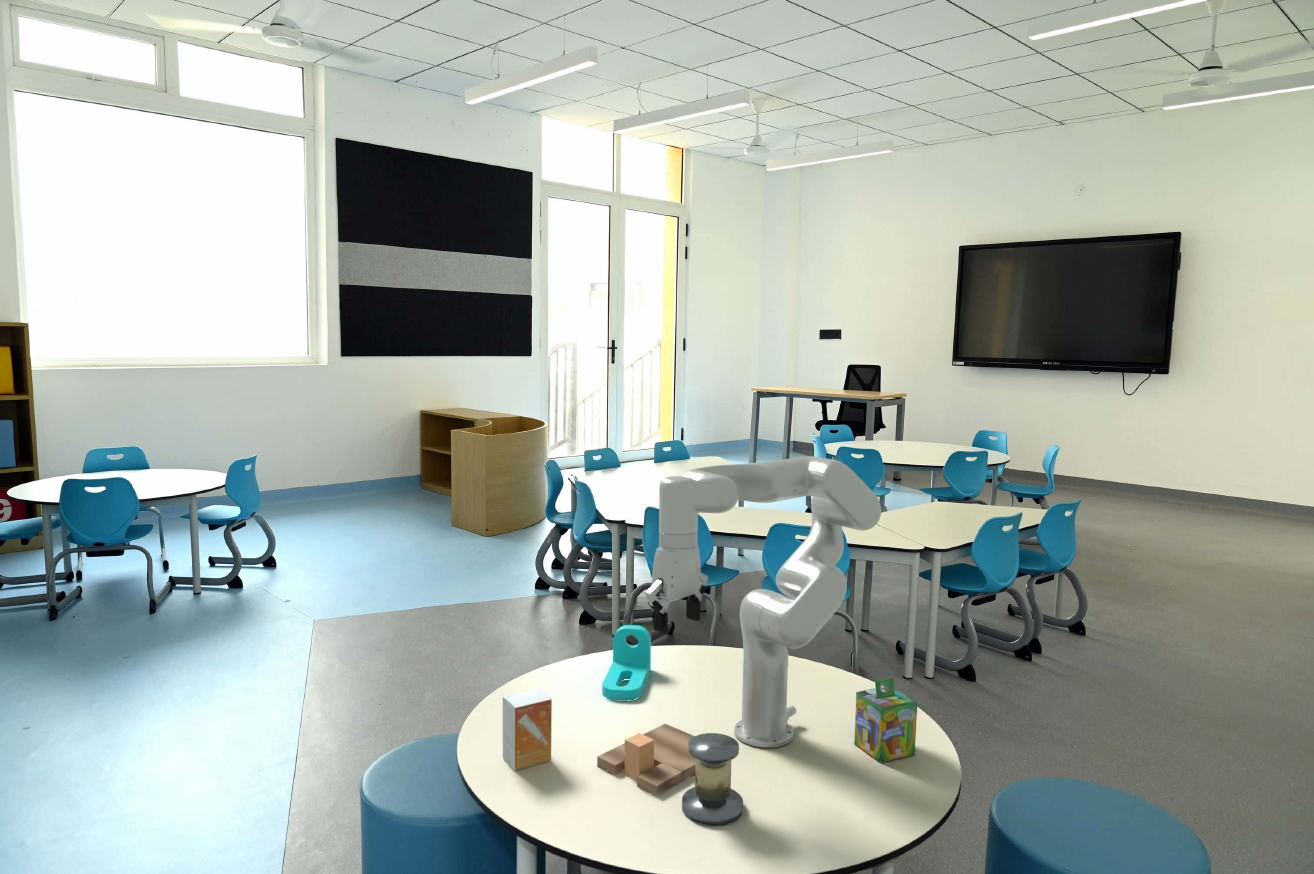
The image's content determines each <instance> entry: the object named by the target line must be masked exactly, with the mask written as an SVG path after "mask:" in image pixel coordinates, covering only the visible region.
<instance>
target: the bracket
mask: <svg viewBox="0 0 1314 874" xmlns="http://www.w3.org/2000/svg"><path fill="white" fill-rule="evenodd" d="M629 636H633V637H635V638H636V639H637V642H638V643H637V644H635V645H631V644H629V643H628V641H627V637H629ZM651 649H652V636H651V633H650V632H649V630H648V629H647V628H645V627H644V626H642V625H635V624H633V625H630V624H627V625H626V624H625V625H622V626H620V627H619V628H618V629H617V630H616V631H615V634H614V635H613V638H612V663H611V665H610V666H609V669H608V671H607V673H606V675H605V677H604V679H603V680H602V683H601V688H602V689H601V695H603V696H604V697H606V698H607V699H606V698H605V699H606V700H608V699H610V700H609V701H615V700H625V701H624V702H628V701H627V700H633V701H635V700H634V699H636V698H638V697H640V696H641V697H642V695H643V692H644V690H643V688H644V689H645V687H644V685H645V686H646V684H647V681H648V678H649V676H648V674H649V675H650V673H649V671H650V672H651V670H650V669H652V668H651V667H652V665H651V664H652V663H651V662H652V661H651V660H652V655H651V654H652V650H651ZM647 677H648V678H647ZM624 679H630V681H628V684H627V685H624V686H621V683H622V682H623V681H622V680H624ZM646 680H647V681H646ZM621 681H622V682H621ZM620 682H621V683H620ZM645 683H646V684H645ZM619 684H620V686H619ZM642 691H643V692H642ZM641 694H642V695H641ZM603 696H602V697H603ZM604 697H603V698H604ZM641 697H640V698H641Z"/></svg>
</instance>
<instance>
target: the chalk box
mask: <svg viewBox="0 0 1314 874" xmlns="http://www.w3.org/2000/svg"><path fill="white" fill-rule="evenodd" d="M874 685H875V688H870V689H864V690H860V691H856V692H855V696H856V697H855V715H854V716H855V721H854V723H855V724H854V741H853V744H854V745H855V746H856V747H858V748H859V749H861V750H862V751H864V752H865V753H867V754H868V755H869V756H871V757H872V758H873V759H875V760H877V762H879V763H885V762H889V761H893V760H898V759H903V758H907V757H913V756H915V755H916V739H917V738H916V737H917V735H916V734H917V721H918V720H917V719H918V718H917V717H918V702H916V701H915V700H914V699H911V698H910V697H908V696H907V695H906V694H905V693H903V692H901V691H898V690H896V689H895V686H894V685H895V684H894V679H893V678H891V677H888V678H884V679H879V680H875V682H874ZM884 685H886V686H884ZM882 686H883V687H882Z"/></svg>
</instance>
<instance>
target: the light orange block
mask: <svg viewBox="0 0 1314 874" xmlns="http://www.w3.org/2000/svg"><path fill="white" fill-rule="evenodd" d="M643 734H644V733H641V732H639V733H637V734H635V735H632V736H630V737H627V738H626V739H624V743H625V770H624V775H625V774H626V775H625V776H627V777H629V778H631V779H633V780H634V781H637V776H639V775H641V774H643V773H644V772H646V771H648V770H650V769H652V768H654V740H653V739H651V738H649V737H647V736H645V735H643Z"/></svg>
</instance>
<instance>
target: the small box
mask: <svg viewBox="0 0 1314 874" xmlns="http://www.w3.org/2000/svg"><path fill="white" fill-rule="evenodd" d="M552 701H553V700H552V698H551V696H548V695H547V694H546V693H545V692H544V691H542V690H541V689H540V688H535V689H531V690H527V691H526V690H525V691H521V692H517V693H514V694H510V695H506V696H502V759H503V760H504V761H505V762H506V763H507V764H508V765H509V767H511V768H512V769H513V770H514V771H518V770H522V769H526V768H530V767H533V766H535V765H540V764H543V763H547V762H551V761H552V722H553V721H552V714H553V713H552V712H553V710H552V705H553V704H552V703H553V702H552Z"/></svg>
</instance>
